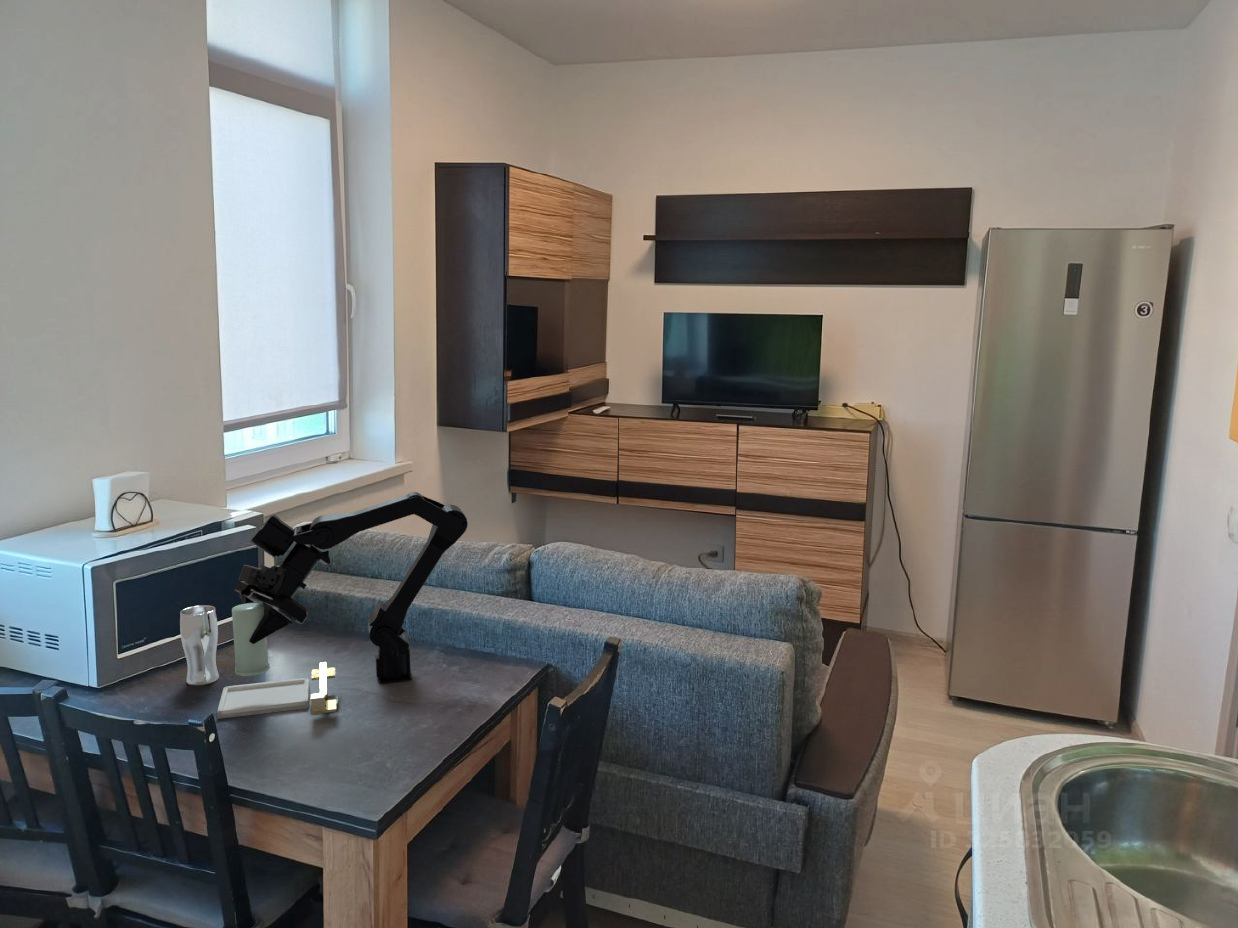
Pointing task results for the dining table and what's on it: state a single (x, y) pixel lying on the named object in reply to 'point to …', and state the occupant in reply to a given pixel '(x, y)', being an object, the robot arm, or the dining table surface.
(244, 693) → the dish
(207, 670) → the beer glass
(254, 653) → the cup
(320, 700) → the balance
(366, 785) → the dining table surface
